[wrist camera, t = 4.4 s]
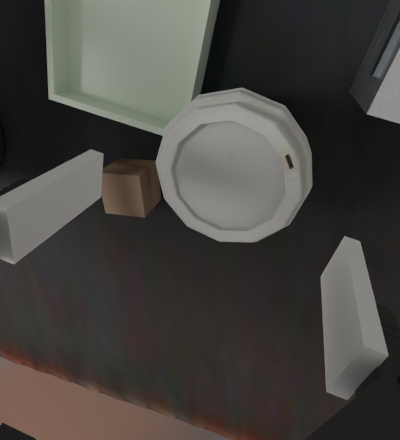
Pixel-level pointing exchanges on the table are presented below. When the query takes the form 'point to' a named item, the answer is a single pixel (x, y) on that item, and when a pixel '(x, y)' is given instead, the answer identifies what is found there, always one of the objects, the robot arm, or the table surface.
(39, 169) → the table surface
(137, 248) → the table surface
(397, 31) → the unit
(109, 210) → the walnut block
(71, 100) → the tray
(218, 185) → the disposable coffee cup
